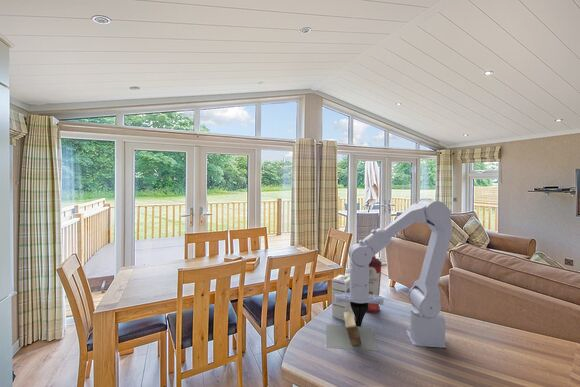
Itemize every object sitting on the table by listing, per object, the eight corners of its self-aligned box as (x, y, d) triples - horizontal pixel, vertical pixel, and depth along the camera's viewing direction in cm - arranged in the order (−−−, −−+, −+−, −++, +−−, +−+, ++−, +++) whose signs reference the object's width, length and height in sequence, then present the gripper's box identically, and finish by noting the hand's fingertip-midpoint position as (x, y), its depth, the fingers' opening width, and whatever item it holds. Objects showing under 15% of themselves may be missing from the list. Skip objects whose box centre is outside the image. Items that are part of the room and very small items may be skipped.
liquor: (360, 313, 106) (361, 239, 104) (360, 304, 113) (362, 235, 111) (380, 316, 104) (382, 240, 102) (380, 307, 111) (381, 236, 109)
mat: (370, 328, 96) (370, 327, 96) (378, 352, 83) (378, 350, 83) (326, 325, 98) (326, 324, 98) (326, 348, 85) (326, 347, 85)
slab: (357, 327, 94) (352, 310, 94) (361, 343, 85) (355, 324, 85) (349, 329, 95) (343, 312, 94) (351, 346, 86) (345, 327, 85)
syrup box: (346, 322, 100) (346, 281, 99) (331, 317, 104) (331, 278, 103) (353, 315, 105) (353, 277, 104) (338, 311, 108) (339, 273, 107)
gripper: (380, 279, 92) (379, 319, 93) (335, 277, 93) (334, 317, 94) (385, 287, 85) (384, 331, 86) (336, 285, 86) (335, 328, 87)
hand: (358, 325), depth 90 cm, fingers closed
